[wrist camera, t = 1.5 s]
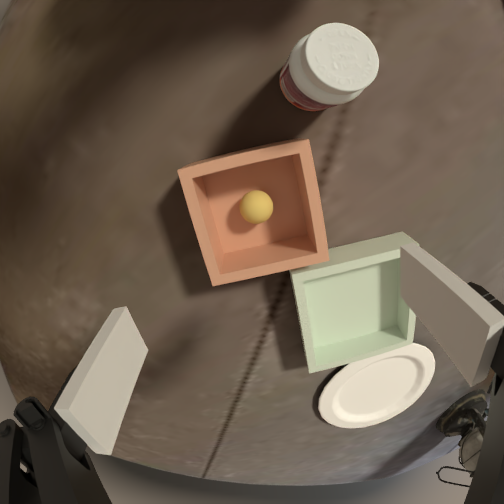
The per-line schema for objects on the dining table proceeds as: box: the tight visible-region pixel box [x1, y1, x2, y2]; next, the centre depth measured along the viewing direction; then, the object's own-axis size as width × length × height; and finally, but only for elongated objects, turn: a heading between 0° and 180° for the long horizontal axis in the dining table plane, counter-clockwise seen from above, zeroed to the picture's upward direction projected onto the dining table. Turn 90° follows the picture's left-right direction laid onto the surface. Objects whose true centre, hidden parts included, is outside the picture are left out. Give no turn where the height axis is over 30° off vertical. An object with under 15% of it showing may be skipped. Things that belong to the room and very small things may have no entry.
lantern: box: [436, 390, 489, 487], centre depth 35 cm, size 19×19×30 cm
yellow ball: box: [239, 190, 273, 224], centre depth 28 cm, size 3×3×3 cm
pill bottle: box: [280, 23, 379, 111], centre depth 20 cm, size 6×6×11 cm
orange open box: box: [177, 138, 330, 286], centre depth 28 cm, size 11×11×6 cm
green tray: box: [289, 232, 419, 373], centre depth 33 cm, size 14×14×4 cm
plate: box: [318, 342, 435, 428], centre depth 41 cm, size 21×21×2 cm
